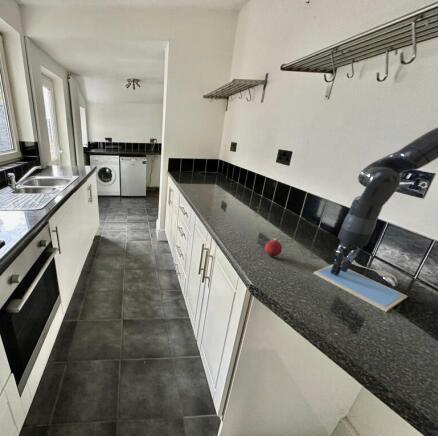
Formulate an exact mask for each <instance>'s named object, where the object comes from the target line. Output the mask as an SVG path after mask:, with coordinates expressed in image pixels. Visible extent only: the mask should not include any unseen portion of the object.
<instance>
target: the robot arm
mask: <svg viewBox="0 0 438 436" xmlns="http://www.w3.org/2000/svg"><path fill="white" fill-rule="evenodd" d="M437 159H438V126H437V127H435V128H433V129H431V130H429V131H427V132H425V133H424V134H422V135H420V136H418V137H417V138H416V139H414V140H412V141H411V142H409V143H408V144H406V145H405V146H403V147H401V148H400V149H399V150H396V151H395V152H393V153H390V154H388V155H386V156H383V157H382V158H379V159H377V160H376V161H373V162H372V163H370V164H368V165H367V166H365V167H364V168H363V169H362V170H361V171H360V172H359V174H358V177H357V180H358V183H359V184H360V185H361V186H362V187H365V188H364V190H363V192H362V194H361V195H358V196H356V197H354V199H353V200H352V202H351V205H350V207H349V210H348V213H347V214H346V216H345V218H344V220H343V222H342V224H341V226H340V227H341V228H340V230H339V232H338V235H337V238H338V240H339V241H341V242H342V243H341V244H340V245H338V248H334V249H333V251H332V255H331V259H330V264H331V265H332V264H333V267H332V269H331V274H333V275H335V276H338V275H339V273H340V271H343V272H346V271H347V270H348V269H350V265H351V264H352V262H354V261H356V260H357V258H358V256H359V255H360V253H361V251H362V248H363V247H366V246H367V245H368V243H369V241H370V239H371V237H372V235H373V233H374V230H375V228H376V226H377V221H378V218H379V216H380V214H381V212H382V209H383V207H384V205H385V204H386V203H388V202H389V200H390V199H391V198H392V197H393V195H394V194H395V193H396V191H397V190H398V188H399V187H400V184H401V179H402V175H401V173H404V172H407V171H416V170H419V169H421V168H423V167H425V166H427V165H428V164H431V163H432V162H433V161H436V160H437ZM353 260H354V261H353Z"/></svg>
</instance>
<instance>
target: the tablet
mask: <svg viewBox="0 0 438 436" xmlns="http://www.w3.org/2000/svg"><path fill="white" fill-rule="evenodd" d="M332 267H333V264H332V263H331V264H330V265H327V266H325V267H323V268H319V269H318V270H315V271H313V275H315V276H317V277H318V278H321V279H322V280H325V281H327V282H328V283H330V284H332V285H334V286H336V287H338V288H339V289H342V290H343V291H345V292H347V293H349V294H351V295H353V296H355V297H357V298H358V299H360V300H362V301H364V302H366V303H368V304H370V305H372V306H374V307H376V308H378V309H379V310H381V311H383V312H385V313H388V312H389V311H391V310H392V309H393V308H394V307H396V306H398V305H400V304H401V303H402V302H404V301H405V300H407V299H408V295H407V294H404V293H402V292H400V291H397V290H395V289H393V288H391V287H389V286H387V285H384V284H382V283H381V282H378V281H377V280H376V281H375V280H373V279H372V278H369V277H367V276H365V275H363V274H361V273H358V272H356V271H355V270H352V269H350V268H348V270H347V271H346V272H343V271H340V273H339V275H338V276H335V275H333V274H331V269H332Z"/></svg>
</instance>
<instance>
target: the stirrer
mask: <svg viewBox="0 0 438 436" xmlns="http://www.w3.org/2000/svg"><path fill="white" fill-rule="evenodd" d="M351 264H352V265H354V266H356V267H359V268H361V269H366V270H370V271H372V272H375V273H377V274H378V276H380V277H381V278H383V279H384V280H385V281H386V282H387V283H388V284H389V285H391V286H392V287H397V286H398V284H399V283H398V282H399V281H398V279H397V277H396V276H395V275H394V274H392V273H390V272H387V271H383V270H377V269H374V268H370V267H366V266H363V265H361V264H359V263H358V262H357V261H356V260H353V262H352V263H351Z"/></svg>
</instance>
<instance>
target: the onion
mask: <svg viewBox="0 0 438 436" xmlns="http://www.w3.org/2000/svg"><path fill="white" fill-rule="evenodd" d="M282 250H283V247H282V245H281V243H280V242H279V239H278V238H274V239H273V240H269V241H267V243H266V244H265V246H264V252H265V253H266V254H267V256H269V257H271V258H273V257H277V256H279V255H281V253H282Z"/></svg>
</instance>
